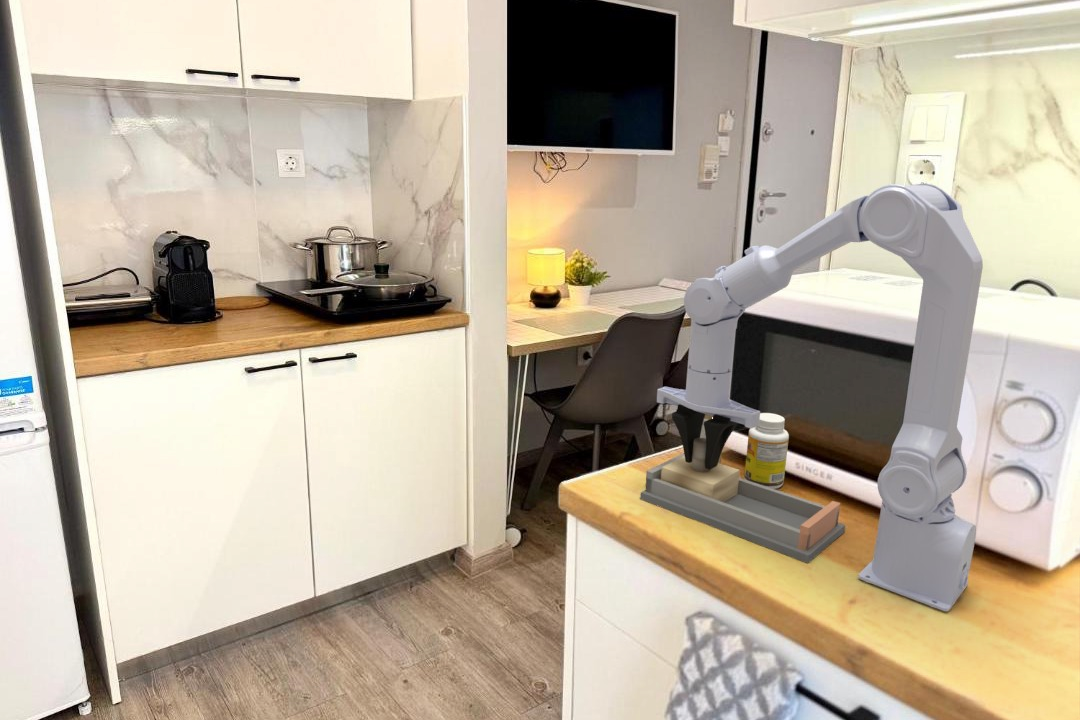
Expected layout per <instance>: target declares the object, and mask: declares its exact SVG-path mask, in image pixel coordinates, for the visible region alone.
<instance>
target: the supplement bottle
mask: <svg viewBox="0 0 1080 720" xmlns="http://www.w3.org/2000/svg"><path fill="white" fill-rule="evenodd" d="M785 421H786V420H785V417H783V416H782V415H779V414H777V413H773V412H772V413H771V412H760V419H759V425H758V426H756V427H754V428H752V429H751V428H749V430H748V437H747V438H748V439H747V447H746V457H745V468H744V479H745V480H748V481H751V482H754V483H757V484H760V485H763V486H766V487H769V488H772V489H775V490H777V489H779V488H781V487H782V486H783V484H784V481H785V475H786V473H785V471H786V465H787V457H788V446H789V439H790V434H789V432H788V431H787V430H786V429H785Z"/></svg>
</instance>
